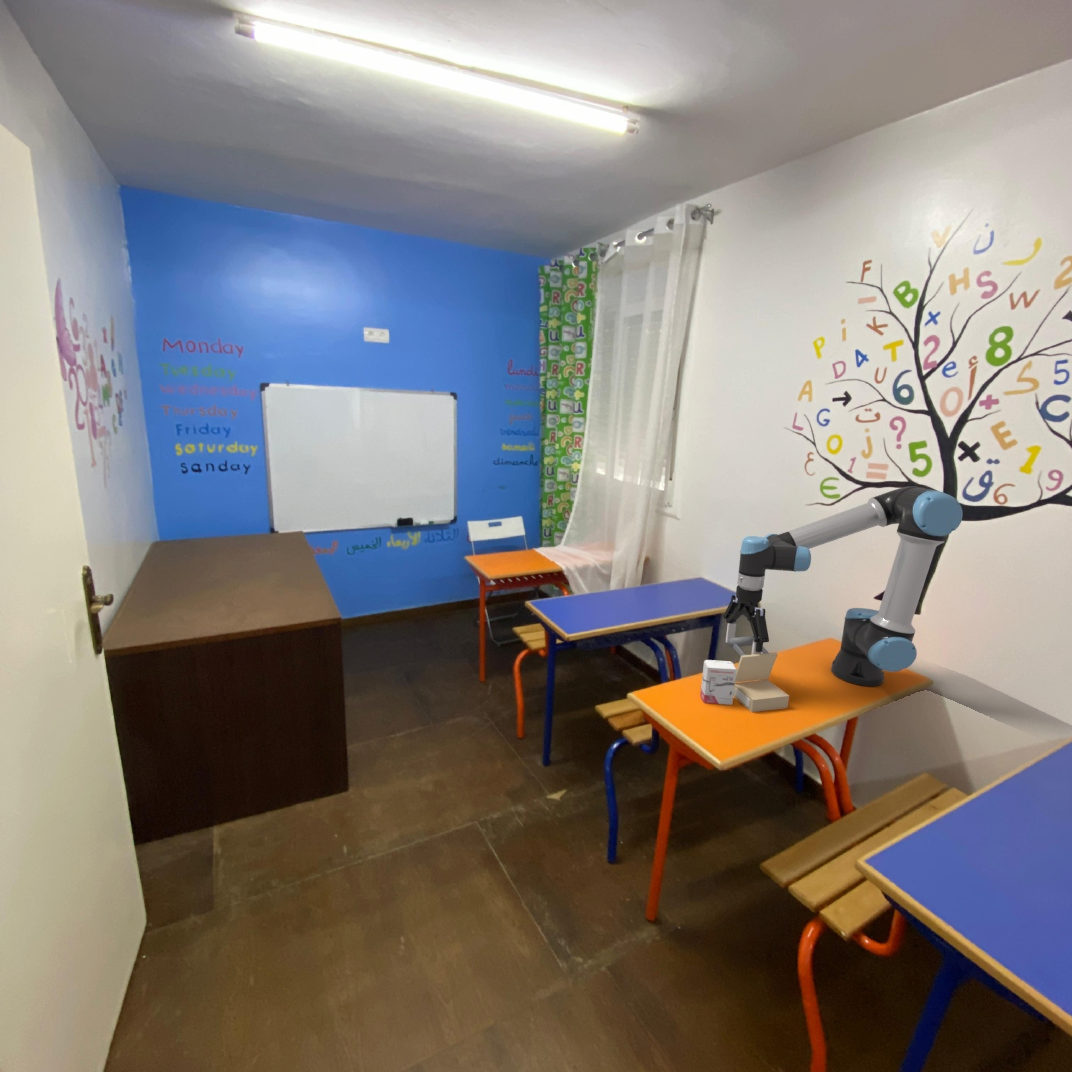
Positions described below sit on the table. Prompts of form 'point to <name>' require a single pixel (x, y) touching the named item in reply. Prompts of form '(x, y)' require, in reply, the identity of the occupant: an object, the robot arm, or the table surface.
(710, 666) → the ink box
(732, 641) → the flap
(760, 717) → the table surface
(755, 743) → the table surface
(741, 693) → the carton
